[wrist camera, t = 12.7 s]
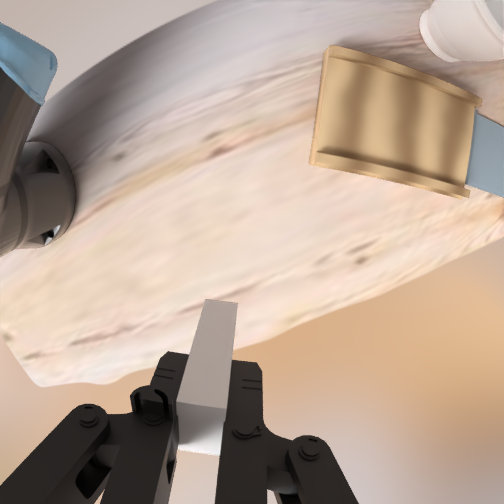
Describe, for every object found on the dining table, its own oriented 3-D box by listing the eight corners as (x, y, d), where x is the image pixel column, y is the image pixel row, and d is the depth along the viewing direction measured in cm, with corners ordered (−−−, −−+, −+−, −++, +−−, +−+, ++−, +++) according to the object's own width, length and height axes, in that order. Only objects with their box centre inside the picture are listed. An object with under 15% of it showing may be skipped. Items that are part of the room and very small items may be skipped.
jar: (409, -7, 27) (464, -51, 13) (468, 17, 27) (531, -8, 13) (413, 58, 30) (481, 29, 16) (472, 79, 30) (545, 69, 16)
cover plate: (450, 179, 36) (460, 182, 34) (460, 108, 33) (471, 107, 30) (503, 197, 37) (514, 201, 34) (513, 134, 33) (524, 135, 31)
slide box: (308, 163, 36) (316, 166, 31) (323, 52, 31) (333, 40, 26) (447, 194, 36) (467, 202, 32) (461, 97, 32) (482, 95, 27)
